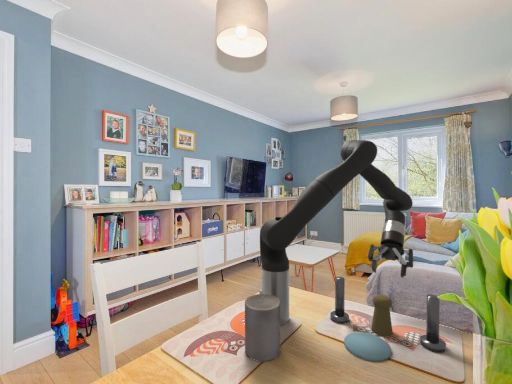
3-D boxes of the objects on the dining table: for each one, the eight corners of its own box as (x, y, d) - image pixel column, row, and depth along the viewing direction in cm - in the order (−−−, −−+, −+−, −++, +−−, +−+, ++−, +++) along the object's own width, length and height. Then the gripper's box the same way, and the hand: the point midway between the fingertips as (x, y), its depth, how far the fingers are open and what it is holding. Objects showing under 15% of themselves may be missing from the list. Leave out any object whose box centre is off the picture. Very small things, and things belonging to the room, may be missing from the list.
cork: (395, 338, 77) (395, 301, 77) (373, 335, 79) (374, 299, 78) (389, 327, 83) (389, 293, 83) (369, 325, 85) (369, 291, 84)
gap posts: (327, 320, 88) (328, 278, 87) (333, 313, 93) (333, 273, 92) (445, 355, 69) (446, 303, 69) (445, 344, 74) (446, 295, 74)
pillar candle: (254, 336, 78) (254, 287, 78) (285, 345, 74) (285, 292, 73) (238, 356, 69) (237, 300, 69) (272, 367, 65) (271, 307, 65)
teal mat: (338, 350, 72) (338, 347, 72) (350, 330, 81) (350, 328, 81) (387, 367, 65) (387, 364, 65) (394, 343, 75) (394, 340, 75)
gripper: (371, 227, 101) (364, 264, 92) (414, 231, 93) (411, 272, 83) (374, 239, 105) (367, 275, 96) (415, 243, 97) (412, 283, 88)
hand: (387, 273), depth 90 cm, fingers open, 8 cm apart
